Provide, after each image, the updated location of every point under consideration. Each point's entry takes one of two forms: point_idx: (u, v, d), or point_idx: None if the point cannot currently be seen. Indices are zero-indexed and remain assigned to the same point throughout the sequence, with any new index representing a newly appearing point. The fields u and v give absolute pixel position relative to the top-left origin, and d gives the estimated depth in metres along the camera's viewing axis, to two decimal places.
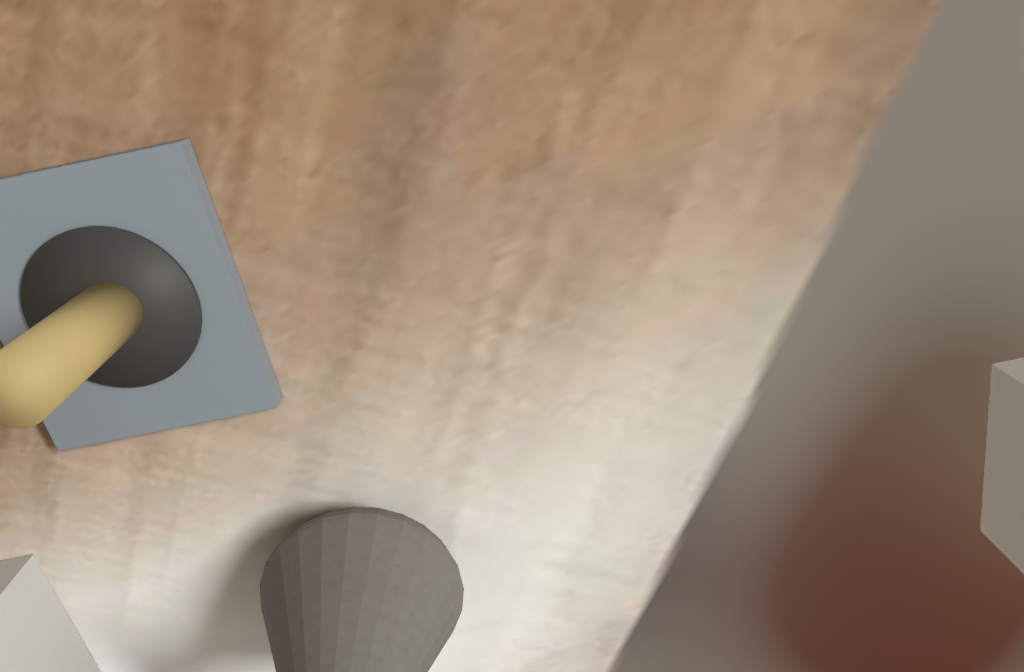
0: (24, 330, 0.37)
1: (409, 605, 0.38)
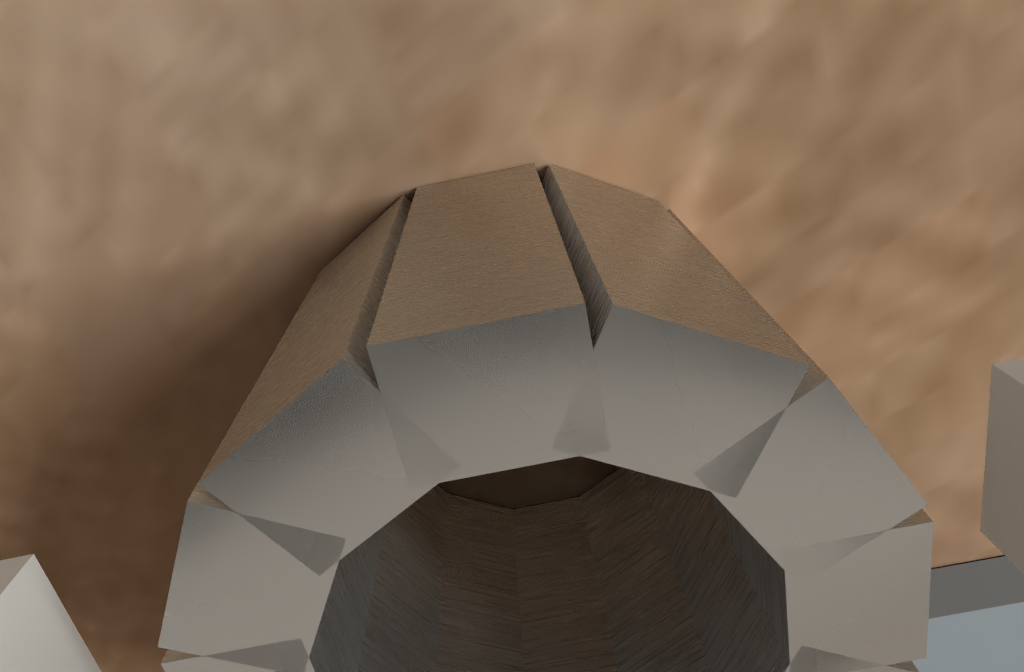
0: None
1: None
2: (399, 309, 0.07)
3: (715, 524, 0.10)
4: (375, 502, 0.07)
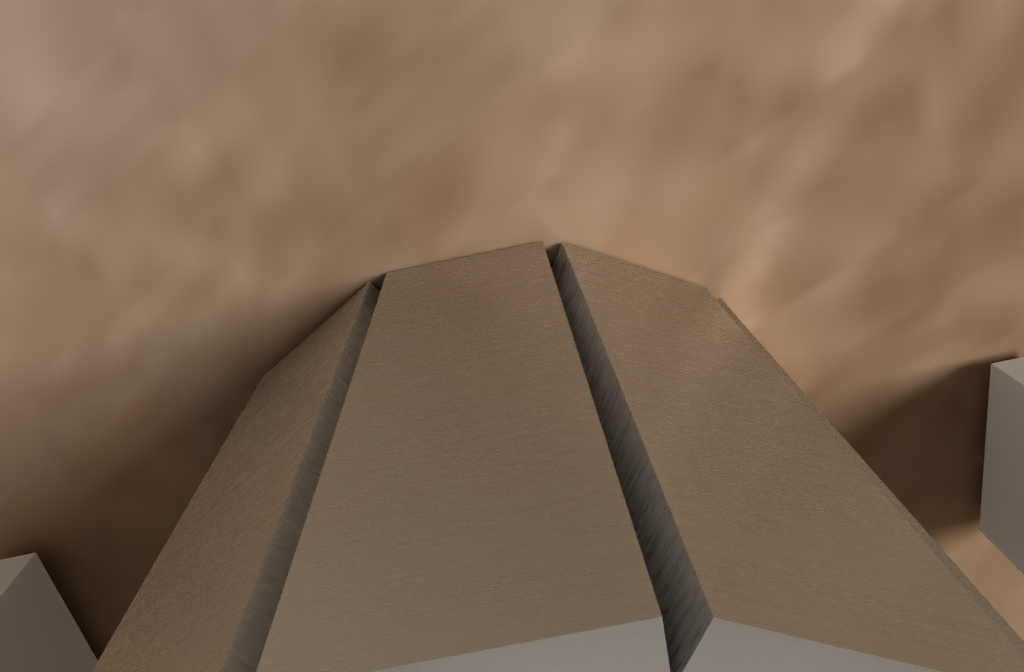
0: None
1: None
2: (325, 574, 0.04)
3: None
4: None
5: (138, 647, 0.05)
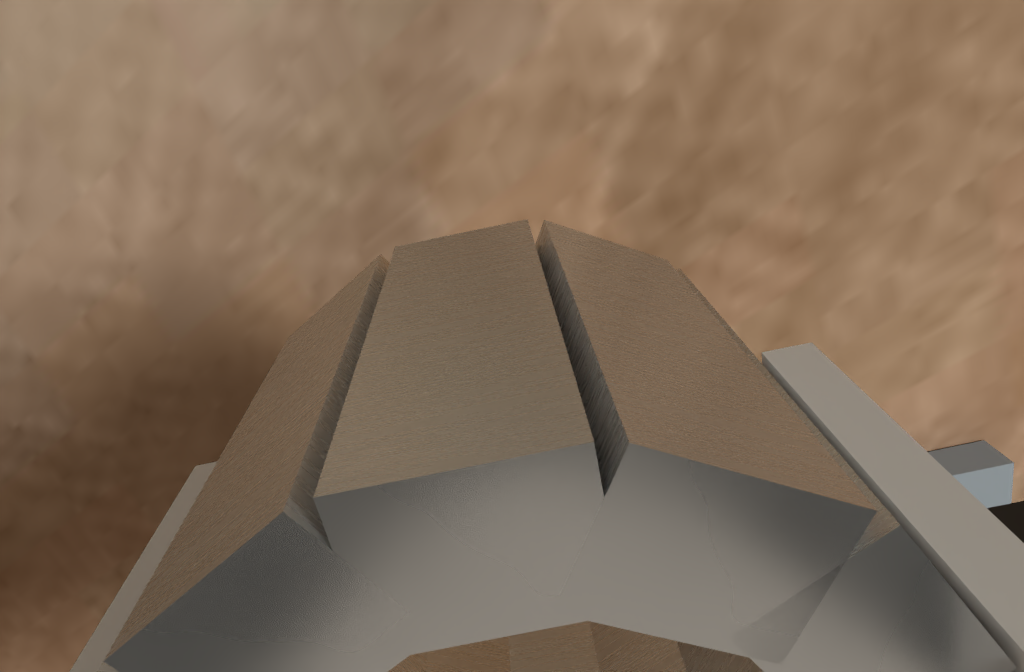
0: None
1: None
2: (360, 435, 0.06)
3: None
4: None
5: (215, 508, 0.06)
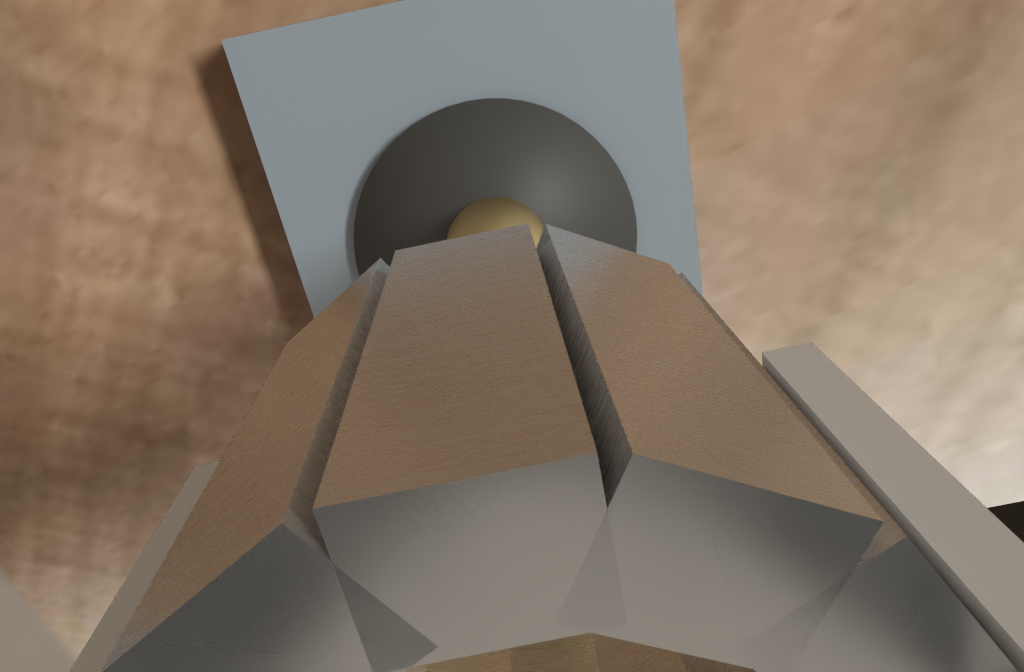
0: (346, 279, 0.22)
1: None
2: (360, 444, 0.06)
3: None
4: None
5: (213, 517, 0.06)
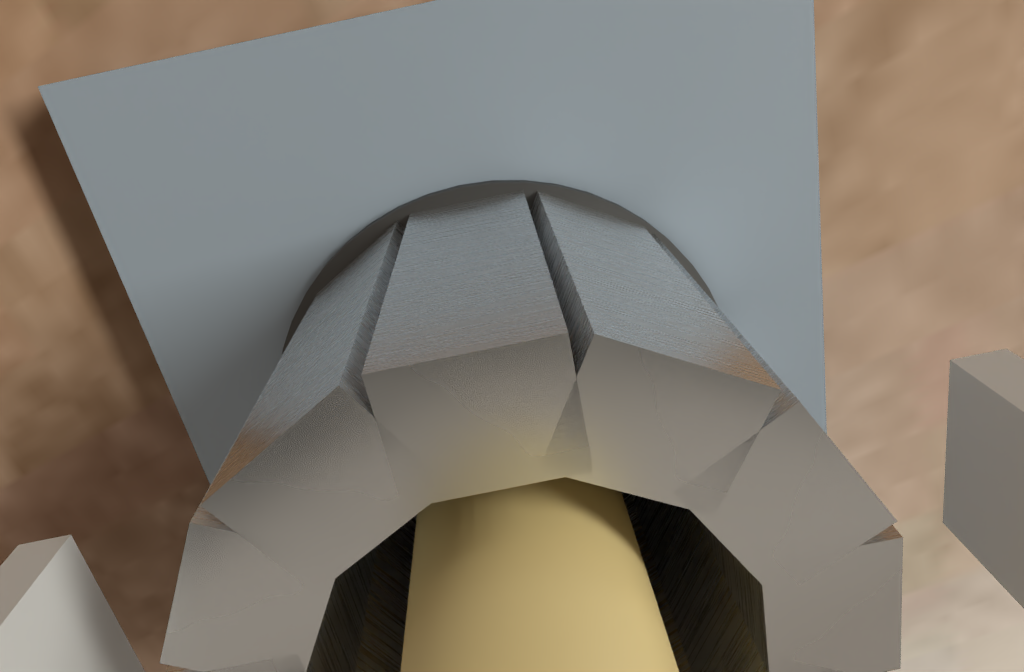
0: None
1: None
2: (392, 337, 0.07)
3: (699, 541, 0.11)
4: (370, 522, 0.07)
5: (275, 404, 0.08)
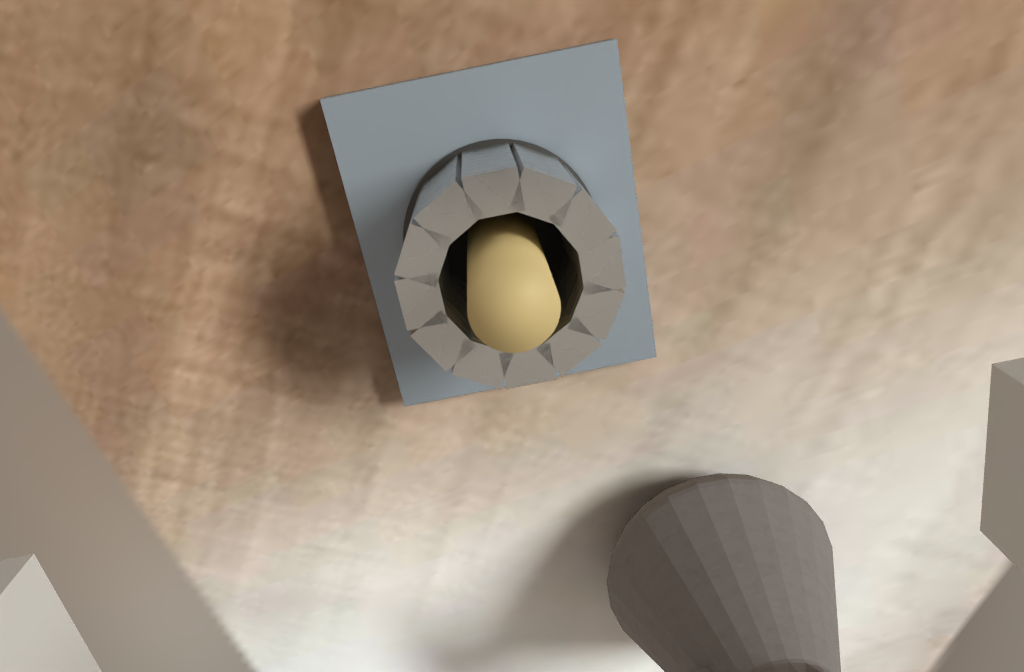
0: (396, 262, 0.32)
1: (821, 580, 0.33)
2: (467, 172, 0.25)
3: (572, 270, 0.29)
4: (460, 225, 0.25)
5: (428, 198, 0.26)
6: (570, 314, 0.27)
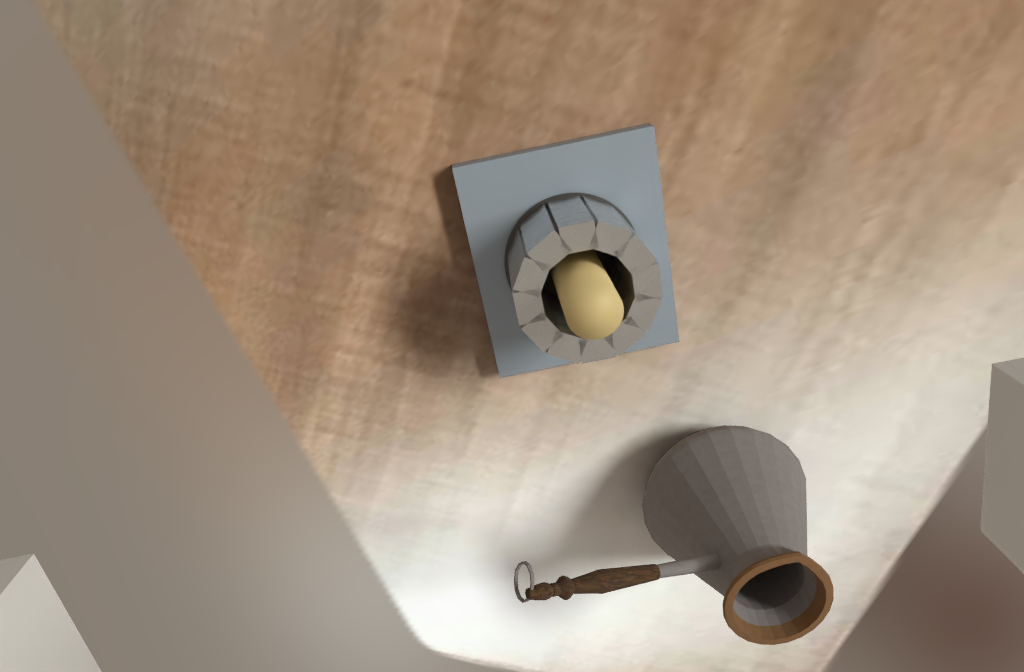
0: (498, 277, 0.46)
1: (795, 497, 0.47)
2: (561, 223, 0.39)
3: (624, 284, 0.43)
4: (557, 257, 0.39)
5: (534, 239, 0.40)
6: (625, 314, 0.41)
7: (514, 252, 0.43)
